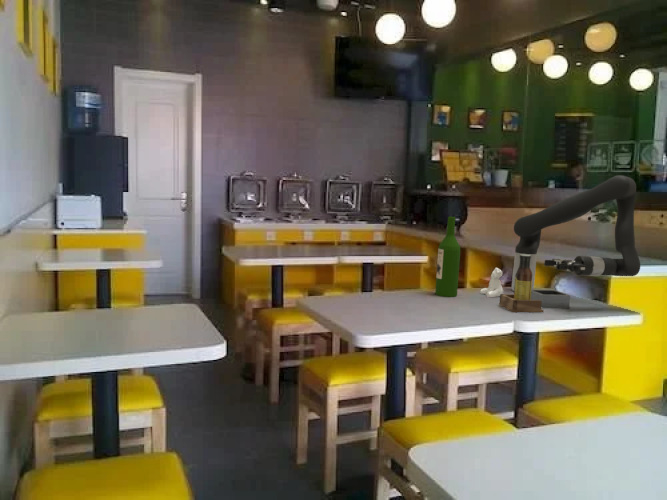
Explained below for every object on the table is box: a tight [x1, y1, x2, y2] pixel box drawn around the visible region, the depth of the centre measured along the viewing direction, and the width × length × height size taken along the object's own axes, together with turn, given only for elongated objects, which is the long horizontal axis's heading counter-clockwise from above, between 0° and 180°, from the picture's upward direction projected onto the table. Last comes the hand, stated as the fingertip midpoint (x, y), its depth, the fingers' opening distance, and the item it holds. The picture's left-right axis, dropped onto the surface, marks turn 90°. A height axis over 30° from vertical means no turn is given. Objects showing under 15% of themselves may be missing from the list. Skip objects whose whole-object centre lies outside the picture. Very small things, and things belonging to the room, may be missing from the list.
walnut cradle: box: [498, 293, 544, 313], centre depth 236 cm, size 12×12×4 cm
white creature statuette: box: [480, 267, 504, 298], centre depth 261 cm, size 10×9×12 cm
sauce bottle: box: [513, 254, 532, 300], centre depth 235 cm, size 7×6×20 cm
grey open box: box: [531, 289, 571, 309], centre depth 247 cm, size 11×12×5 cm
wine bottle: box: [434, 216, 461, 298], centre depth 255 cm, size 9×9×32 cm
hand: (550, 264), depth 236 cm, fingers open, 8 cm apart
